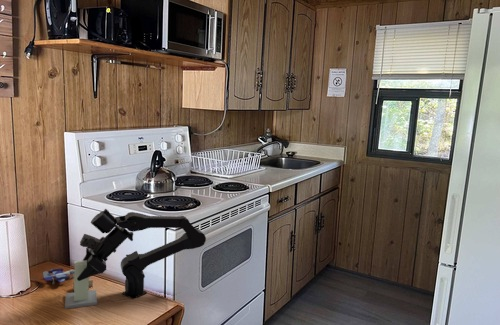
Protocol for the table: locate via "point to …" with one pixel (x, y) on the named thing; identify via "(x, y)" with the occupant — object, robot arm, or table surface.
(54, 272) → the toy airplane
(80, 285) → the sage green pillar
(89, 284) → the brown block
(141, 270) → the robot arm
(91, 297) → the slate tile
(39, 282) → the table surface
